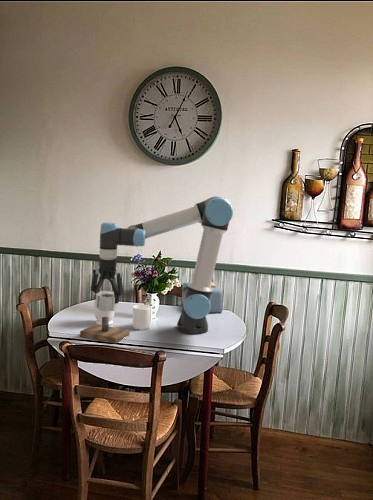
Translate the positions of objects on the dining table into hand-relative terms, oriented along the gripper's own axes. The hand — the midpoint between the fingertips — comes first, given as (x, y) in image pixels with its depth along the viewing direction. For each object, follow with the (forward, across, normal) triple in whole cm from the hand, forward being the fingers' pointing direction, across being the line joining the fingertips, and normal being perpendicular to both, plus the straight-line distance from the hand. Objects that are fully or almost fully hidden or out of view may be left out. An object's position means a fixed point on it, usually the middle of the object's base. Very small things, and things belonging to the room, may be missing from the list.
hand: (106, 308), depth 205 cm
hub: (0, 0, -1) cm, 1 cm away
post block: (+13, 0, 0) cm, 13 cm away
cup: (+13, -8, -21) cm, 26 cm away
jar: (+13, +10, -16) cm, 23 cm away
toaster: (+12, -25, -65) cm, 71 cm away
